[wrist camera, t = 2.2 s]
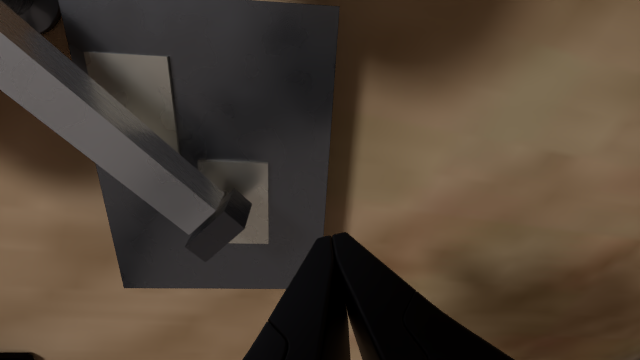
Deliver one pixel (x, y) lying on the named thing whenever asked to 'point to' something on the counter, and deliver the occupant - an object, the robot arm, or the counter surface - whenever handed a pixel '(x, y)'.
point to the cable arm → (113, 135)
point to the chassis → (218, 125)
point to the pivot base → (43, 15)
